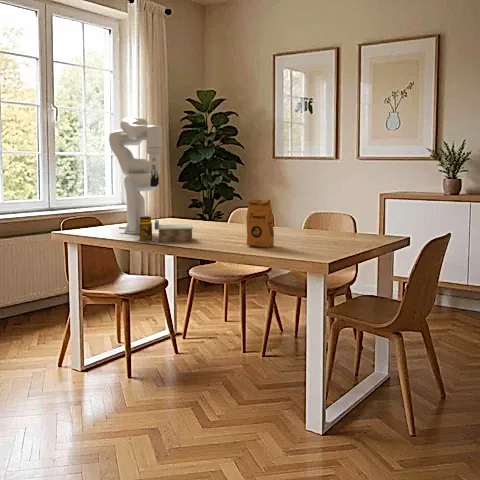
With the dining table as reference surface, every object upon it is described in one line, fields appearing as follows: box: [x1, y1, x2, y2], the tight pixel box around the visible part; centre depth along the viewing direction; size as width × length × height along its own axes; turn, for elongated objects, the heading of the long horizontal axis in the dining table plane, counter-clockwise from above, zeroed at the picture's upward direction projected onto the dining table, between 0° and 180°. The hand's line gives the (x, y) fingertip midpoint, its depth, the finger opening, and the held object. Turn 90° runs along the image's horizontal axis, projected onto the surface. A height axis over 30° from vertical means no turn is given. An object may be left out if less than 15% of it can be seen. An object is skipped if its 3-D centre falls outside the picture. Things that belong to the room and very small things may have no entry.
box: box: [158, 229, 193, 243], centre depth 308 cm, size 16×12×6 cm
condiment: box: [135, 215, 155, 243], centre depth 307 cm, size 7×8×12 cm
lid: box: [154, 219, 193, 231], centre depth 307 cm, size 18×12×3 cm
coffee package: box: [245, 198, 275, 249], centre depth 287 cm, size 10×12×22 cm
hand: (154, 185), depth 312 cm, fingers open, 9 cm apart
